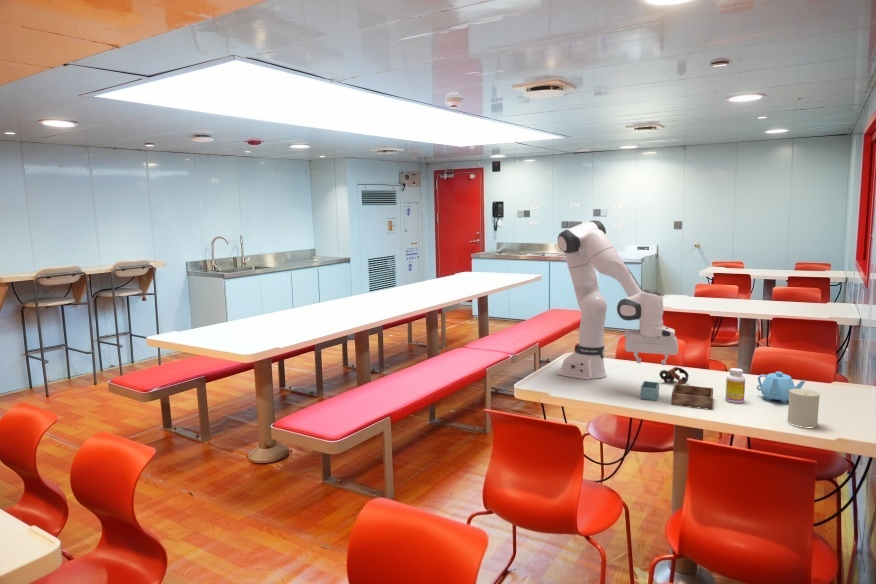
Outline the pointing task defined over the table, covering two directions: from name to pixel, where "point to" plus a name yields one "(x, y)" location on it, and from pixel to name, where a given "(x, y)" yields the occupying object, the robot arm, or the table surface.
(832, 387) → the table surface
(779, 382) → the teapot
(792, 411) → the can
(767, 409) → the table surface
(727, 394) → the supplement bottle
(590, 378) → the robot arm
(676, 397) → the crate
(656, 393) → the tote
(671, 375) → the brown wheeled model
